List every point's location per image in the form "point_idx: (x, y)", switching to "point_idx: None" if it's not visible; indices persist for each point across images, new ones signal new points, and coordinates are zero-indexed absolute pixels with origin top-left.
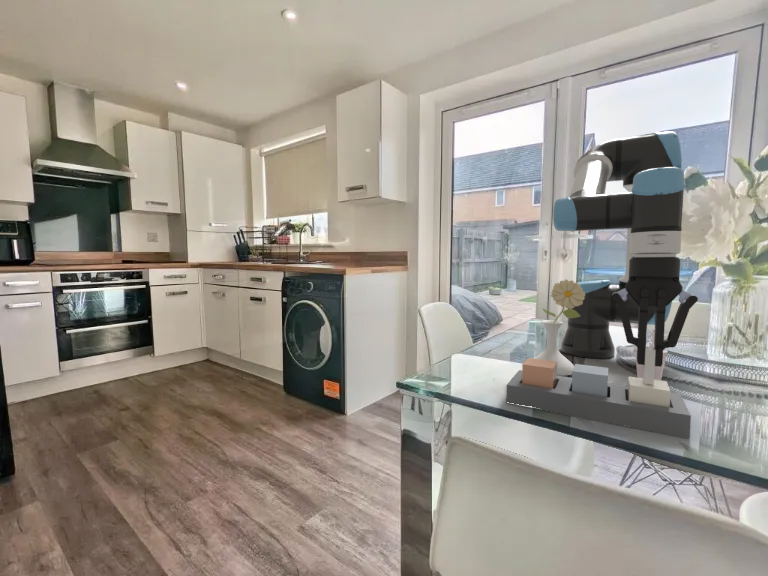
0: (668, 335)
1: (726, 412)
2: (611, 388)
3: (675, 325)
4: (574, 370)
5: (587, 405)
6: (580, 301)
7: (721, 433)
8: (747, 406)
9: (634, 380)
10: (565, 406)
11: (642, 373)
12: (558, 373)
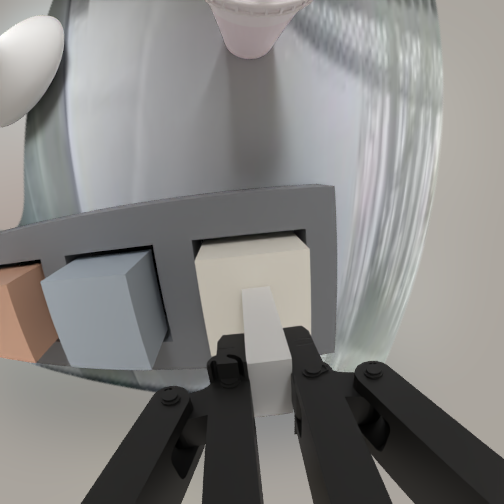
0: (376, 405)
1: (400, 119)
2: (158, 261)
3: (407, 488)
4: (71, 359)
5: None
6: None
7: (376, 261)
8: (427, 64)
9: (217, 301)
10: None
11: (232, 37)
12: (29, 109)
